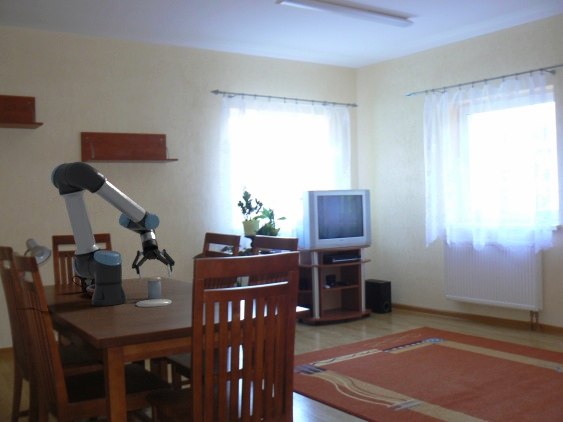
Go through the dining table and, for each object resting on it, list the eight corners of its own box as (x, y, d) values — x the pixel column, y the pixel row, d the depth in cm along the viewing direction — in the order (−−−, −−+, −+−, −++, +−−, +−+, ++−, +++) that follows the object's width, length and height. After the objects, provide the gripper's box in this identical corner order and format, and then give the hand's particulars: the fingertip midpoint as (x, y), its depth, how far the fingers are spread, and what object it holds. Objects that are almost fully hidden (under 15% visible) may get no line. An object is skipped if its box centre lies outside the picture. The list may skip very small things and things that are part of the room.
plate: (142, 308, 255) (142, 305, 255) (132, 304, 268) (132, 301, 268) (176, 304, 262) (176, 302, 262) (164, 300, 275) (164, 298, 275)
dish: (117, 290, 319) (117, 280, 319) (120, 298, 290) (119, 287, 290) (86, 292, 314) (86, 282, 314) (86, 300, 285) (85, 289, 285)
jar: (150, 300, 275) (149, 278, 275) (145, 299, 281) (145, 277, 281) (163, 299, 278) (163, 277, 278) (159, 297, 284) (158, 276, 284)
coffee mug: (99, 290, 320) (99, 271, 320) (93, 292, 312) (92, 273, 311) (78, 290, 321) (78, 271, 321) (71, 293, 313) (70, 273, 313)
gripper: (173, 247, 305) (181, 280, 292) (123, 250, 296) (128, 284, 283) (175, 237, 300) (183, 270, 287) (124, 240, 291) (129, 274, 278)
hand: (155, 277), depth 285 cm, fingers open, 13 cm apart
